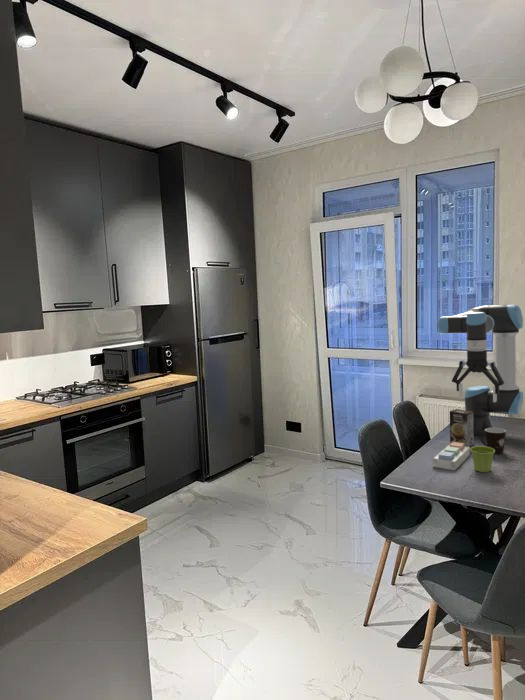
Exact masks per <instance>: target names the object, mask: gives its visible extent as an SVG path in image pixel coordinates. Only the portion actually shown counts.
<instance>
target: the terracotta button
mask: <svg viewBox="0 0 525 700" xmlns="http://www.w3.org/2000/svg"><path fill="white" fill-rule="evenodd" d="M450 447H456V448H459V450H461V451H462V450H463V449H464V443H458V442H452V443H451V444H450Z"/></svg>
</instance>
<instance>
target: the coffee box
mask: <svg viewBox="0 0 525 700" xmlns="http://www.w3.org/2000/svg"><path fill="white" fill-rule="evenodd" d="M474 441H475V440H474V435H473V412H472V411H466V410H465V409H458V408H454V409H452V410H450V411H449V443H450V444H451V443H452V442H458V443H464V446H465V447H470V446H472V445H474Z"/></svg>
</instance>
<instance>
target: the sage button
mask: <svg viewBox="0 0 525 700" xmlns="http://www.w3.org/2000/svg"><path fill="white" fill-rule="evenodd" d="M446 447H447V446H446ZM446 447H444V449H443V450H444V452H451V453H454V455H456V456H457V455H458V454H459V453H460V452H459V448H456V447H447V448H446Z"/></svg>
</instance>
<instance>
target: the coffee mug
mask: <svg viewBox="0 0 525 700" xmlns="http://www.w3.org/2000/svg"><path fill="white" fill-rule="evenodd" d="M506 433H507V430H506V429H504V428H501V427H493V428H487V429H485V434H486V435H481V437H480V442H481V443H482V445H483V446H485V447H490V448H493V449H494V450H495V453H494V455H501V454H502V455H503V454H504V451H505V444H506V443H505V442H506ZM483 438H485V440H486V443H485V442H484V440H483Z"/></svg>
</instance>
